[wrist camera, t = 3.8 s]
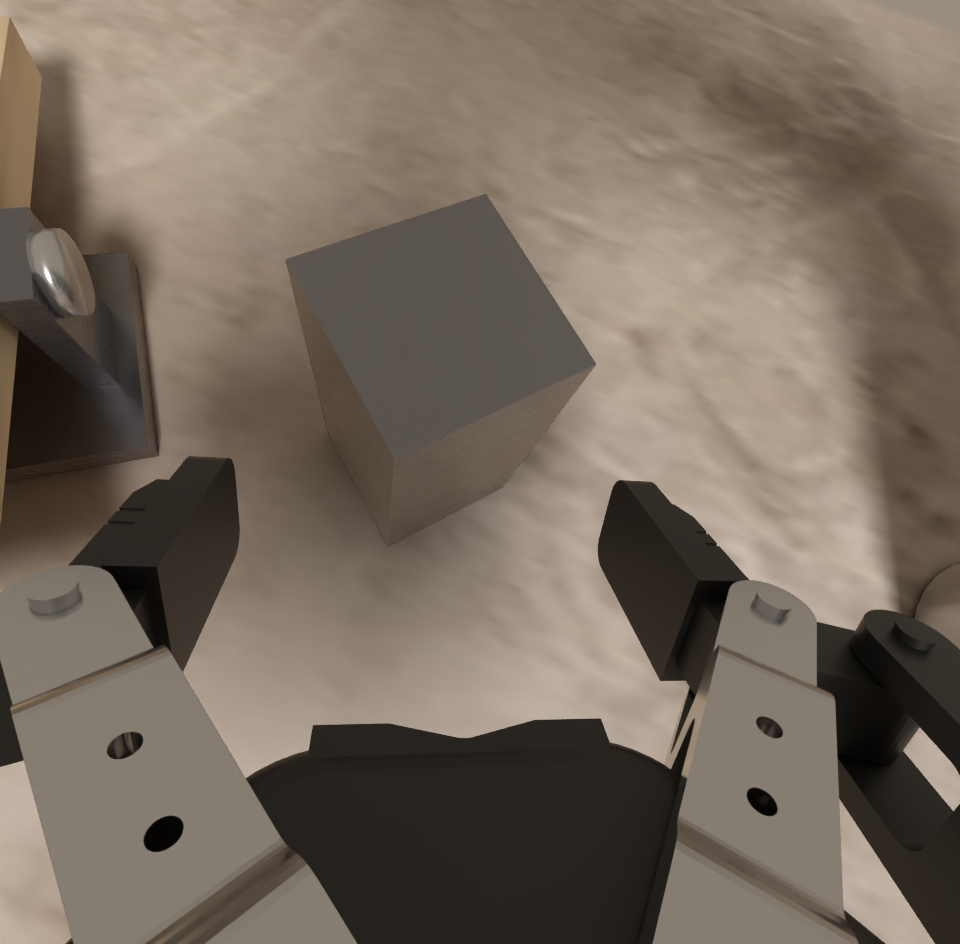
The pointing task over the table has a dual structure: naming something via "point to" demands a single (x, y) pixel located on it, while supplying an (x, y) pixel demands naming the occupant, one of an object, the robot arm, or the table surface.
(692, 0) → the table surface
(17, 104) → the seesaw plank
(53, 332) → the seesaw stand
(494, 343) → the block
